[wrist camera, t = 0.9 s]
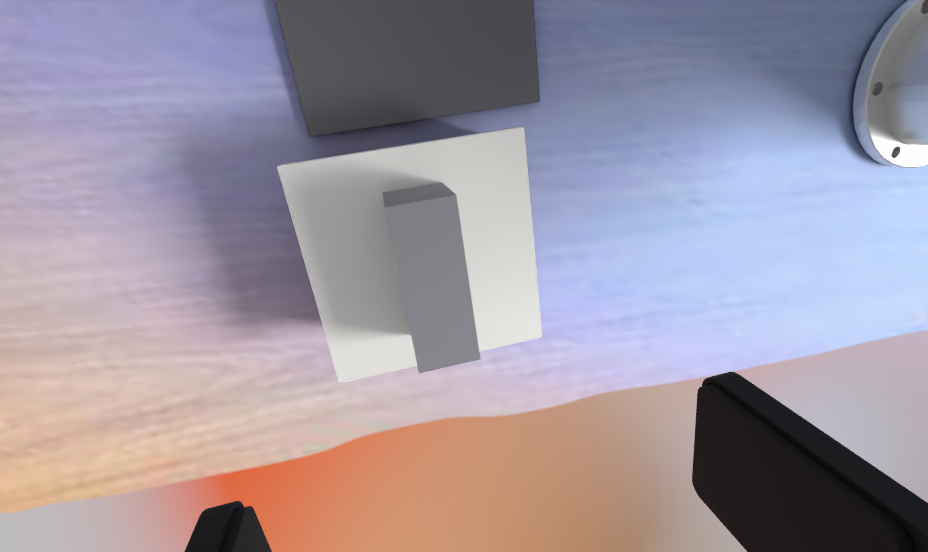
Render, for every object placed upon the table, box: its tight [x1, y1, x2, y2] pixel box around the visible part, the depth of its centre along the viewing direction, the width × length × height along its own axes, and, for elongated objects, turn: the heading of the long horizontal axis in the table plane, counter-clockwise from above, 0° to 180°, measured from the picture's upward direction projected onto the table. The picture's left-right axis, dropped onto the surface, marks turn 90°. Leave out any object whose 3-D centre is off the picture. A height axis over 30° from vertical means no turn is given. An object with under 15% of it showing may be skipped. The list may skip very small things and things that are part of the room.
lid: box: [277, 127, 542, 383], centre depth 22 cm, size 12×12×5 cm
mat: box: [275, 0, 540, 137], centre depth 24 cm, size 14×12×1 cm
